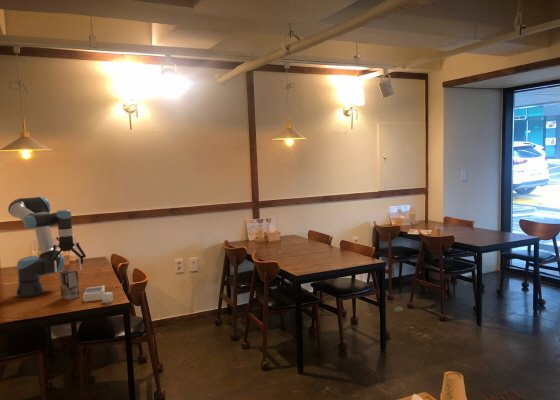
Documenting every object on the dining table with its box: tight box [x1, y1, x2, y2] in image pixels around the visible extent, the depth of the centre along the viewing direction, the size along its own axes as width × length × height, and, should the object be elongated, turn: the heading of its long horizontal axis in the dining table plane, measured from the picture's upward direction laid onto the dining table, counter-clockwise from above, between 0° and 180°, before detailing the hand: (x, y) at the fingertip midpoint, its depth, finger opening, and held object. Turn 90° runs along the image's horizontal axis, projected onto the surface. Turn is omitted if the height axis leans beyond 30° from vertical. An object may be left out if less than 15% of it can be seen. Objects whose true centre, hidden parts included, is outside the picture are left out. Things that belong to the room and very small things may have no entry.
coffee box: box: [58, 269, 80, 301], centre depth 261 cm, size 9×6×16 cm
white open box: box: [82, 284, 106, 303], centre depth 260 cm, size 11×14×5 cm
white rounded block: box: [101, 291, 114, 304], centre depth 251 cm, size 6×6×5 cm
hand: (68, 270), depth 260 cm, fingers open, 13 cm apart
